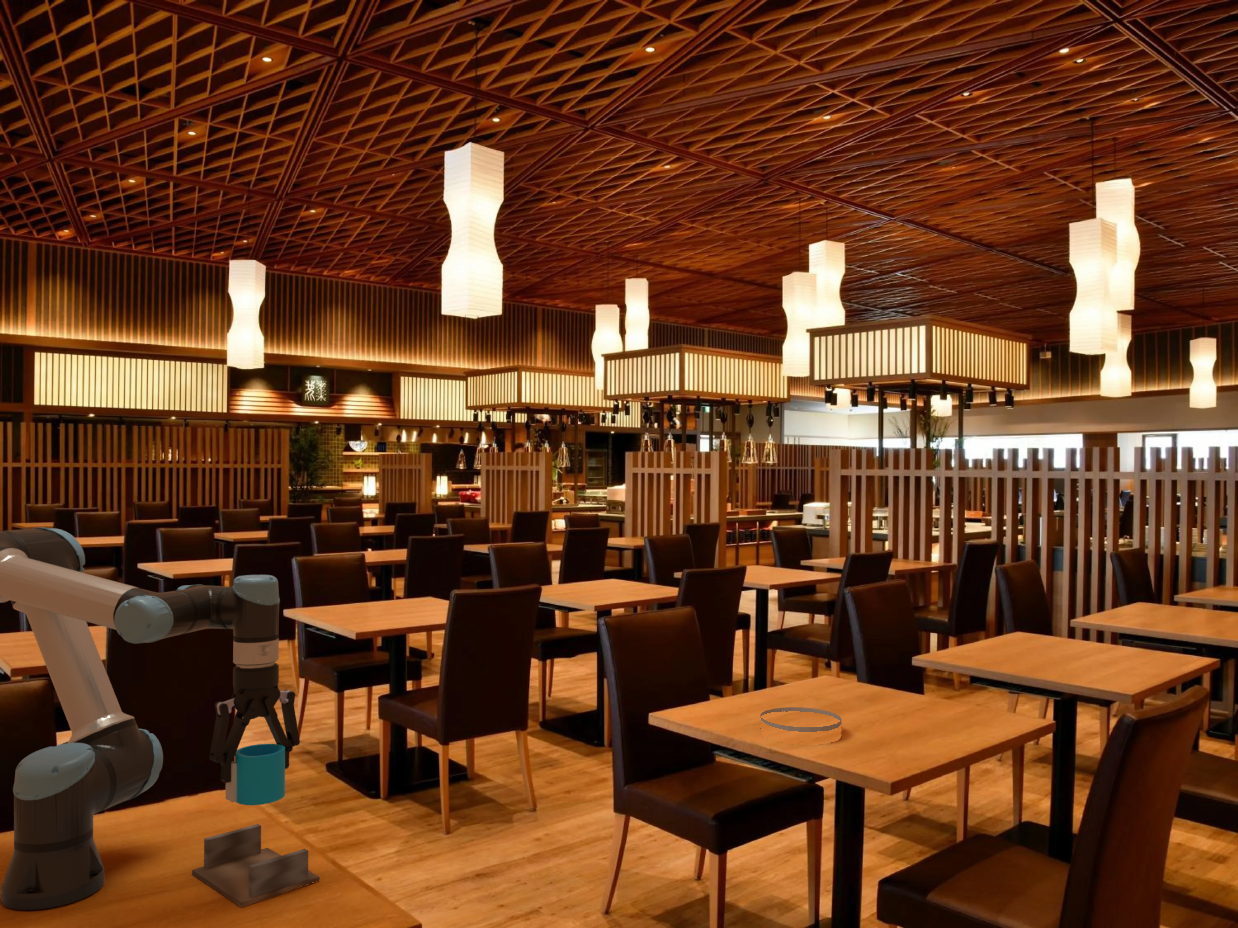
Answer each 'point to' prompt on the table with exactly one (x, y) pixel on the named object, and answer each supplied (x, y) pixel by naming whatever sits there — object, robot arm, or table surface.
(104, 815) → the table surface
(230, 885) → the holder
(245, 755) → the mug
